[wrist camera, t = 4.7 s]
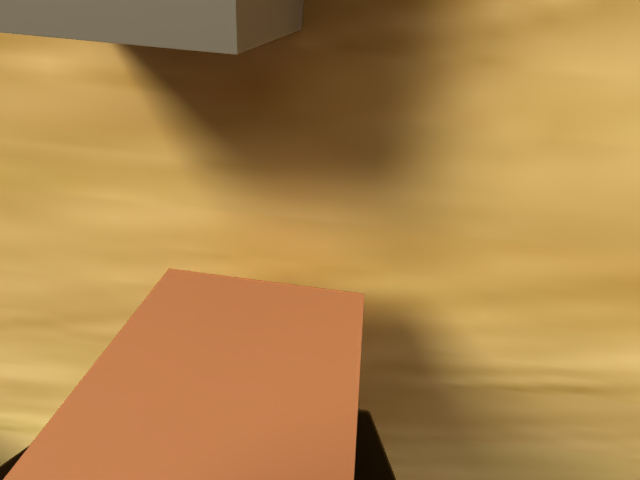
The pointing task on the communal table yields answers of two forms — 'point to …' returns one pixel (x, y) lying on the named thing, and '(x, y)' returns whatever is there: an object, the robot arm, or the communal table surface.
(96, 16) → the gray block
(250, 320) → the terracotta block
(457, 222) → the communal table surface
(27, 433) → the communal table surface
